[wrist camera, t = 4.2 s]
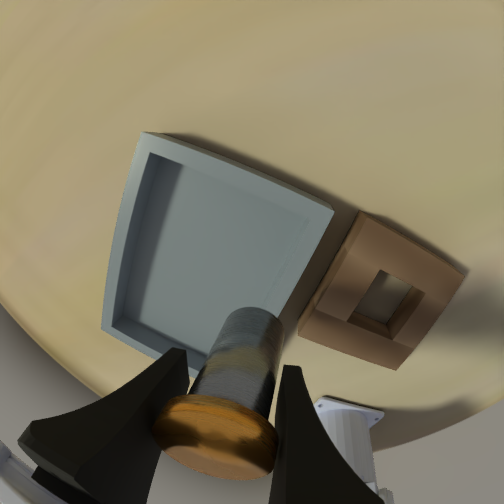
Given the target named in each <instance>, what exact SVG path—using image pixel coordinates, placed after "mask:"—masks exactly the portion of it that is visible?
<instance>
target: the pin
mask: <svg viewBox="0 0 504 504" xmlns="http://www.w3.org/2000/svg"><path fill="white" fill-rule="evenodd" d="M283 342H284V328H283V326H282V324H281V322H280V321H279V319H278V318H277V317H276V316H275V315H273V314H272V313H270V312H269V311H267V310H264V309H261V308H257V307H243V308H239V309H237V310H235V311H233V312H232V313H231V314H230V315H229V316H228V317H227V319H226V321H225V323H224V325H223V326H222V328H221V330H220V332H219V334H218V336H217V338H216V340H215V342H214V344H213V346H212V348H211V350H210V352H209V354H208V356H207V358H206V360H205V362H204V364H203V365H202V367H201V369H200V371H199V373H198V375H197V377H196V379H195V381H194V383H193V385H192V387H191V389H190V391H189V393H188V395H180V396H176V397H174V398H172V399H170V400H169V401H168V402H167V403H166V404H165V406H164V408H163V409H162V411H161V413H160V414H159V416H158V418H157V420H156V421H155V423H154V425H153V427H152V431H151V432H152V436H153V439H154V440H155V442H156V443H157V445H158V446H159V447H160V448H161V449H162V450H163V451H164V452H165V453H166V454H168V455H169V456H170V457H172V458H173V459H174V460H176V461H178V462H179V463H181V464H183V465H185V466H187V467H189V468H191V469H193V470H196V471H198V472H201V473H204V474H207V475H211V476H214V477H219V478H224V479H231V480H251V479H257V478H261V477H264V476H266V475H268V474H269V473H271V472H272V470H273V468H274V465H275V460H276V455H277V450H278V444H279V436H278V433H277V431H276V429H275V428H274V427H273V425H272V424H271V423H270V422H269V421H268V418H269V414H270V409H271V404H272V399H273V394H274V390H275V384H276V379H277V374H278V369H279V364H280V358H281V353H282V347H283Z"/></svg>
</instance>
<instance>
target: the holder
mask: <svg viewBox="0 0 504 504" xmlns="http://www.w3.org/2000/svg"><path fill="white" fill-rule="evenodd" d="M380 269H381V270H383V271H385V272H387V273H389V274H391V275H393V276H394V277H396V278H398V279H400V280H402V281H404V282H406V283H408V284H410V285H412V287H411V289H410V291H409V292H408V294H407V295H406V297H405V298H404V300H403V301H402V303H401V304H400V306H399V307H398V308H397V310H396V311H395V313H394V314H393V316H392V317H391V318H390V320H389V321H388V323H387V324H386V325H385V324H382V323H380V322H378V321H375V320H373V319H370V318H368V317H366V316H363V315H361V314H359V313H356V312H354V309H355V308H356V306H357V305H358V303H359V302H360V300H361V299H362V297H363V296H364V294H365V293H366V291H367V290H368V288H369V286H370V285H371V283H372V282H373V280H374V278H375V277H376V275H377V273H378V272H379V270H380ZM464 277H465V276H464V275H463V274H461V273H460V272H459V271H458V270H457V269H456V268H455V267H454V266H452V265H451V264H449V263H448V262H446V261H445V260H443V259H442V258H440V257H439V256H437V255H435V254H434V253H432V252H431V251H429V250H427V249H426V248H424V247H423V246H421V245H419V244H418V243H416V242H414V241H413V240H411V239H409V238H408V237H406V236H404V235H403V234H401V233H399V232H398V231H396V230H394V229H392V228H391V227H389V226H387V225H385V224H384V223H382V222H380V221H378V220H376V219H375V218H373V217H371V216H369V215H367V214H365V213H364V212H362V211H360V210H359V212H358V214H357V216H356V218H355V220H354V222H353V224H352V226H351V228H350V230H349V232H348V233H347V235H346V237H345V239H344V241H343V243H342V245H341V246H340V248H339V250H338V252H337V254H336V256H335V257H334V259H333V261H332V263H331V264H330V266H329V268H328V270H327V272H326V273H325V275H324V277H323V278H322V280H321V282H320V284H319V285H318V287H317V289H316V290H315V292H314V294H313V296H312V297H311V299H310V301H309V302H308V304H307V305H306V307H305V309H304V310H303V312H302V314H301V315H300V317H299V318H298V336H300V337H303V338H305V339H308V340H310V341H313V342H316V343H318V344H321V345H324V346H326V347H329V348H332V349H334V350H337V351H340V352H343V353H345V354H348V355H351V356H354V357H357V358H360V359H362V360H365V361H368V362H371V363H374V364H377V365H380V366H383V367H386V368H389V369H392V370H397V369H398V368H399V367H400V365H401V364H402V363H403V362H404V361H405V360H406V358H407V357H408V356H409V355H410V354H411V352H412V351H413V350H414V349H415V348H416V346H417V345H418V344H419V343H420V341H421V340H422V339H423V337H424V336H425V335H426V334H427V332H428V331H429V330H430V328H431V327H432V326H433V324H434V323H435V321H436V320H437V319H438V317H439V316H440V314H441V313H442V312H443V310H444V309H445V307H446V306H447V304H448V303H449V301H450V300H451V298H452V297H453V295H454V294H455V292H456V290H457V289H458V287H459V286H460V284H461V282H462V281H463V279H464Z"/></svg>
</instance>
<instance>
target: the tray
mask: <svg viewBox="0 0 504 504" xmlns="http://www.w3.org/2000/svg"><path fill="white" fill-rule="evenodd" d="M334 212H335V211H334V210H333V208H332V207H331V205H330V204H329V203H327V202H325V201H323V200H321V199H319V198H317V197H315V196H313V195H311V194H309V193H307V192H305V191H302V190H300V189H298V188H296V187H294V186H292V185H290V184H287V183H285V182H283V181H281V180H278V179H276V178H274V177H272V176H269V175H267V174H265V173H263V172H260V171H258V170H256V169H253V168H251V167H248V166H246V165H244V164H241V163H239V162H236V161H234V160H231V159H229V158H227V157H224V156H221V155H219V154H216V153H214V152H211V151H209V150H206V149H203V148H201V147H198V146H195V145H193V144H190V143H187V142H184V141H182V140H179V139H176V138H173V137H170V136H167V135H165V134H162V133H155V132H141V135H140V138H139V141H138V144H137V147H136V151H135V154H134V157H133V160H132V164H131V167H130V170H129V174H128V178H127V181H126V185H125V189H124V193H123V197H122V201H121V205H120V209H119V213H118V218H117V222H116V227H115V232H114V237H113V242H112V247H111V253H110V259H109V265H108V272H107V278H106V286H105V294H104V302H103V312H102V323H101V329H102V330H103V331H105V332H106V333H108V334H110V335H112V336H113V337H115V338H117V339H118V340H120V341H122V342H124V343H125V344H127V345H129V346H131V347H133V348H134V349H136V350H138V351H140V352H142V353H144V354H146V355H148V356H150V357H151V358H153V359H155V360H157V359H159V358H160V357H161V356H162V355H163V354H164V353H166V352H167V351H168V350H169V349H170V348H172V347H175V348H179V349H184V350H186V353H187V362H188V371H189V376H191V377H193V378H196V377H197V375H198V373H199V371H200V369H201V367H202V365H203V364H204V362H205V360H206V358H207V356H208V354H209V352H210V350H211V348H212V346H213V344H214V342H215V340H216V338H217V336H218V334H219V332H220V330H221V328H222V326H223V325H224V323H225V321H226V319H227V317H228V316H229V315H230V314H231V313H232V312H233V311H235V310H237V309H239V308H243V307H257V308H261V309H264V310H267V311H269V312H270V313H272V314H273V315H275V316H276V317H278V316H279V314H280V312H281V310H282V309H283V307H284V305H285V304H286V302H287V300H288V298H289V296H290V295H291V293H292V291H293V289H294V288H295V286H296V284H297V282H298V280H299V279H300V277H301V275H302V273H303V271H304V269H305V268H306V266H307V264H308V262H309V260H310V258H311V257H312V255H313V253H314V251H315V249H316V247H317V245H318V243H319V241H320V239H321V238H322V236H323V234H324V232H325V230H326V228H327V226H328V224H329V222H330V220H331V218H332V216H333V214H334Z"/></svg>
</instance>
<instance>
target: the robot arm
mask: <svg viewBox="0 0 504 504" xmlns="http://www.w3.org/2000/svg"><path fill="white" fill-rule="evenodd" d="M189 384H190V380H189V371H188V362H187V353H186V350H184V349H179V348H175V347H172V348H170V349H169V350H168V351H167V352H166V353H164V354H163V355H162V356H161V357H160V358H159V359H157V360H156V361H155V362H154V363H153V364H151V365H150V366H149V367H148V368H146V369H145V370H144V371H143V372H141V373H140V374H139V375H138V376H136V377H135V378H133V379H132V380H131V381H129V382H128V383H126V384H125V385H123V386H122V387H120V388H119V389H117V390H116V391H114V392H112V393H111V394H109V395H107V396H105V397H104V398H102V399H100V400H98V401H96V402H94V403H92V404H90V405H87V406H85V407H82V408H80V409H78V410H75V411H72V412H69V413H66V414H62V415H59V416H55V417H51V418H46V419H41V420H35V421H32V422H31V423H30V425H29V426H28V427H27V428H26V430H25V431H24V432H23V434H22V435H21V437H20V438H19V439H18V445H19V446H20V447H21V448H22V450H23V451H24V452H25V453H26V454H27V455H28V456H29V457H30V458H31V459H32V460H33V461H34V462H35V463H36V464H37V465H38V467H37V468H36V470H35V471H34V470H33V469H32V468H30V467H29V466H28V465H26V464H25V463H24V462H23V461H21V460H20V459H19V458H17V456H15V455H14V454H13V453H12V452H11V451H10V450H9V449H8V447H7V446H6V445H5V444H4V443H3V442H2V441H1V440H0V502H1V503H2V504H146V502H147V498H148V494H149V490H150V486H151V483H152V479H153V476H154V472H155V469H156V466H157V463H158V460H159V457H160V454H161V451H162V449H161V448H160V447H159V446H158V445H157V443H156V442H155V440H154V439H153V436H152V432H151V431H152V427H153V425H154V423H155V421H156V420H157V418H158V416H159V414H160V413H161V411H162V409H163V408H164V406H165V404H166V403H167V402H168V401H169V400H170V399H172V398H174V397H176V396H180V395H186V394H187V391H188V387H189ZM383 417H384V412H383V411H379V410H374V409H370V408H366V407H362V406H358V405H354V404H350V403H346V402H342V401H338V400H335V399H331V398H328V397H321V398H319V399H318V400H317V401H316V403H315V404H314V405H313V403H312V401H311V398H310V396H309V393H308V390H307V387H306V384H305V381H304V378H303V374H302V369H301V367H300V366H293V365H284V366H283V371H282V377H281V382H280V387H279V392H278V397H277V405H276V413H275V429H276V431H277V433H278V436H279V444H278V450H277V455H276V460H275V465H274V470H273V478H272V485H271V492H270V497H269V504H394V500H393V493H392V491H390V490H387V488H382V489H380V490H379V489H378V487H377V483H376V475H375V466H374V458H373V452H372V445H371V439H370V432H369V429H370V428H371V427H372V426H373V425H375V424H376V423H377V422H378V421H379V420H380V419H382V418H383Z"/></svg>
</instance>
